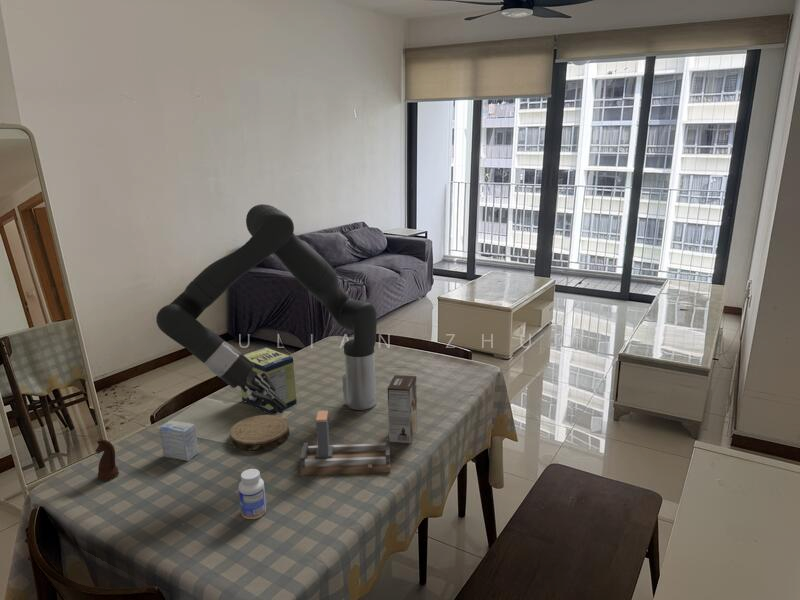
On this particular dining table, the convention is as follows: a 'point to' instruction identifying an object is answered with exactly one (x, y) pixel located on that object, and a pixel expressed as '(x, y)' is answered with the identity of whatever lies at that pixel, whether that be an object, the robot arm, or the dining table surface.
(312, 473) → the board
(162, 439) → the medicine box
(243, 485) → the pill bottle
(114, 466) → the chess piece
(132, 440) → the dining table surface
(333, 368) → the dining table surface
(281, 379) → the protein box
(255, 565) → the dining table surface
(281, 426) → the brown round disc
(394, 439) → the coffee box
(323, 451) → the fader tab
